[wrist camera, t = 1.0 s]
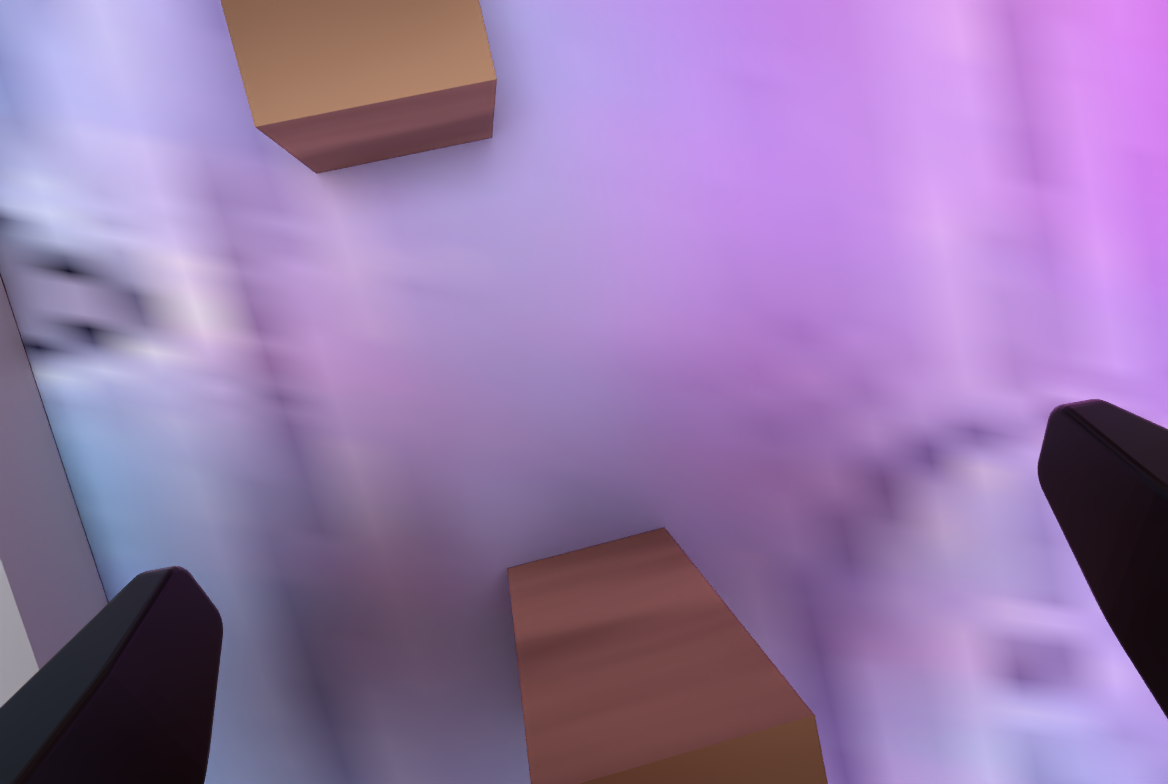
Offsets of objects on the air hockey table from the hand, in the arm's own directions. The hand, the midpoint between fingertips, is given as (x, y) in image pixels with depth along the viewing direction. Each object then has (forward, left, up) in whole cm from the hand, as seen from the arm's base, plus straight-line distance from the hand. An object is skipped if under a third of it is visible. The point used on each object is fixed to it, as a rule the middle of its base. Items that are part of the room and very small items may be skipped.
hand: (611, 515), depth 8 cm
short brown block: (+8, +2, -11) cm, 14 cm away
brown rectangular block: (-6, 0, -11) cm, 12 cm away
